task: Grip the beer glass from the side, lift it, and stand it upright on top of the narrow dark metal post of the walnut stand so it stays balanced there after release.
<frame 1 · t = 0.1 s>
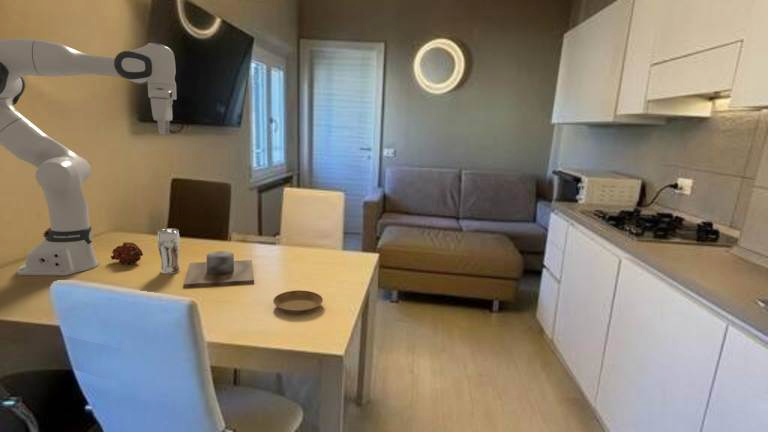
hand: (164, 133, 153), 48 cm above the table, tool pointing down, fingers open, 8 cm apart
plant saucer: (298, 308, 132), on the table
post stand: (220, 274, 155), on the table
brown pine cone: (127, 263, 160), on the table
beer glass: (170, 271, 155), on the table
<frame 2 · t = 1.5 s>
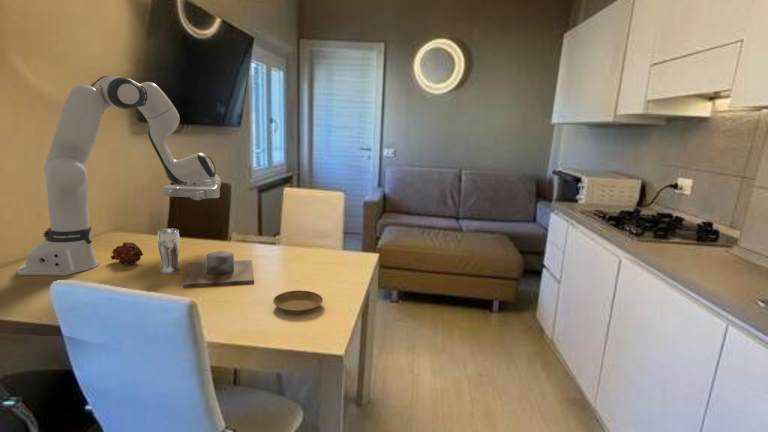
hand: (182, 194, 161), 26 cm above the table, tool horizontal, fingers open, 8 cm apart
nothing on the table moved.
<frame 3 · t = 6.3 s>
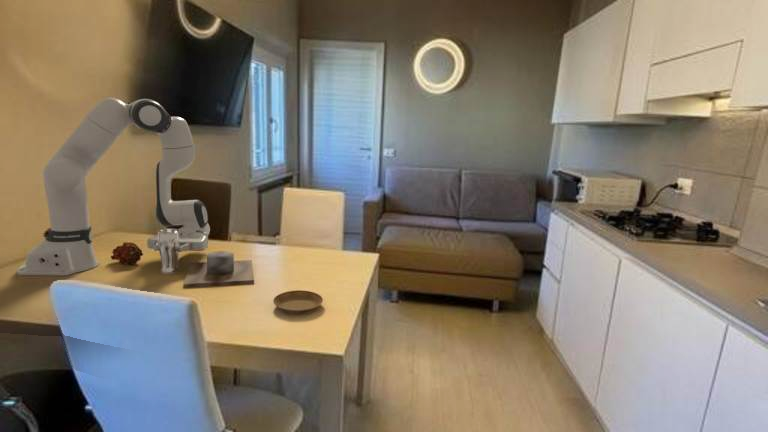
hand: (167, 249, 152), 9 cm above the table, tool horizontal, fingers closed on beer glass, 7 cm apart
beer glass: (170, 271, 155), on the table, touching gripper
everything else where it was.
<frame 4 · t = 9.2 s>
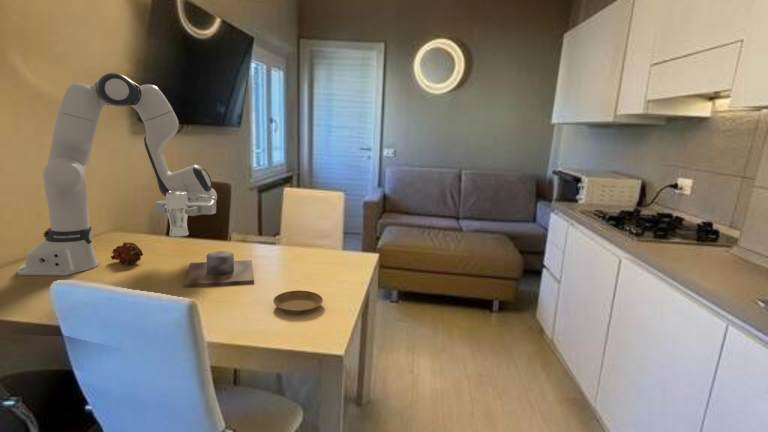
hand: (176, 211, 149), 22 cm above the table, tool horizontal, fingers closed on beer glass, 6 cm apart
beer glass: (179, 235, 152), point 13 cm above the table, touching gripper
everything else where it was.
when the fingers open (17 cm above the table, at t = 12.2 s): beer glass moves 2 cm, resting on post stand.
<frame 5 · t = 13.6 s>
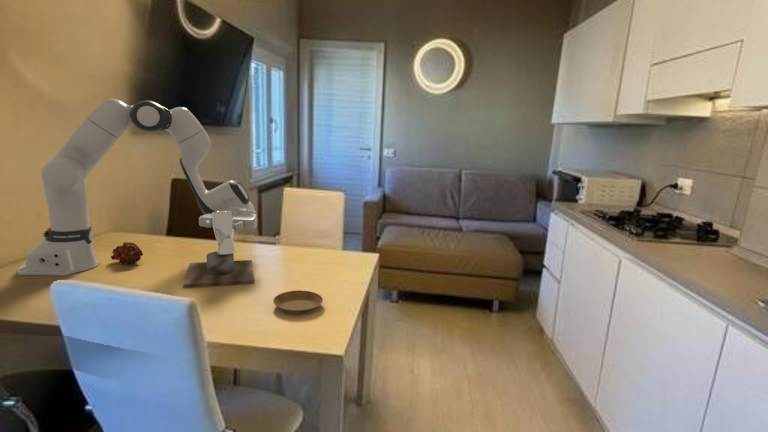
hand: (221, 226, 152), 17 cm above the table, tool horizontal, fingers open, 8 cm apart
beer glass: (226, 254, 153), point 8 cm above the table, touching gripper, post stand
everything else where it was.
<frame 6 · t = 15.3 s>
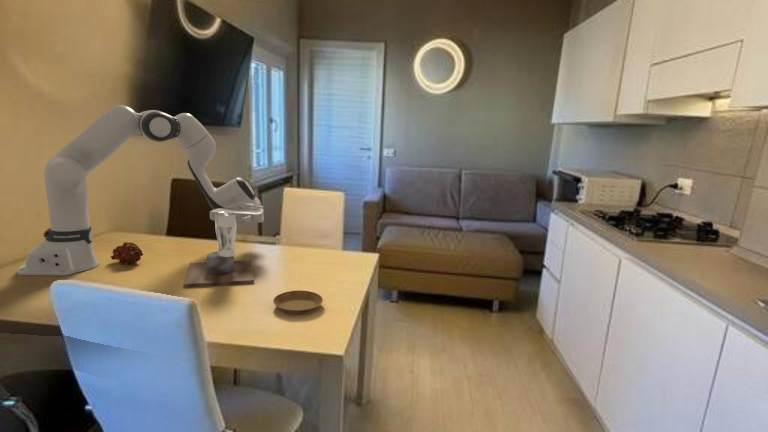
hand: (231, 219, 163), 17 cm above the table, tool horizontal, fingers open, 8 cm apart
beer glass: (226, 255, 153), point 7 cm above the table, touching post stand
everything else where it was.
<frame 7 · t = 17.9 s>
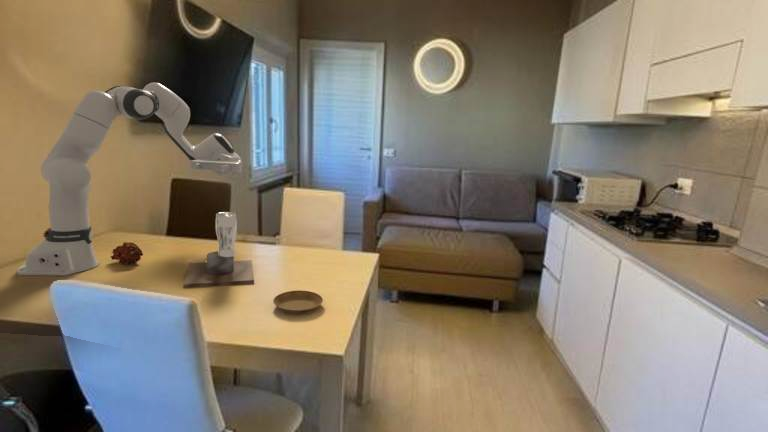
hand: (209, 167, 171), 35 cm above the table, tool horizontal, fingers open, 8 cm apart
nothing on the table moved.
at the end: beer glass 2.3 cm off-centre on the post stand, point 7.0 cm above the post stand's base; beer glass tilted 0°; the gripper is holding nothing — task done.
